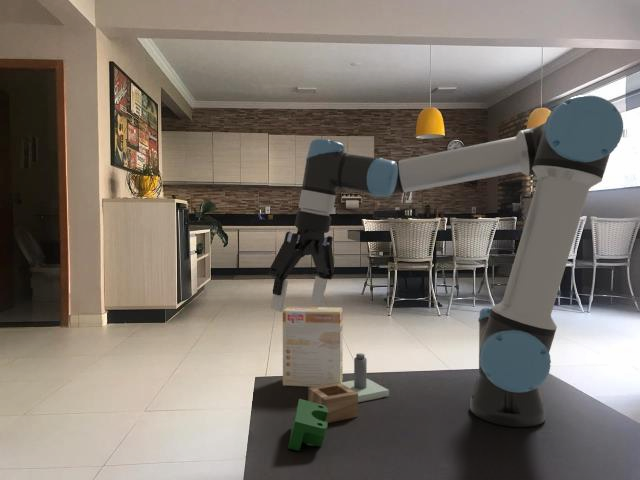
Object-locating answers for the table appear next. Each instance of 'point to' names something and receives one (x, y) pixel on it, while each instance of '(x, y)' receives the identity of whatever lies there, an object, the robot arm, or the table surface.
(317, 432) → the clamp
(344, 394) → the collar
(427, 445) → the table surface
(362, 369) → the sage green base plate
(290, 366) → the coffeecake box
